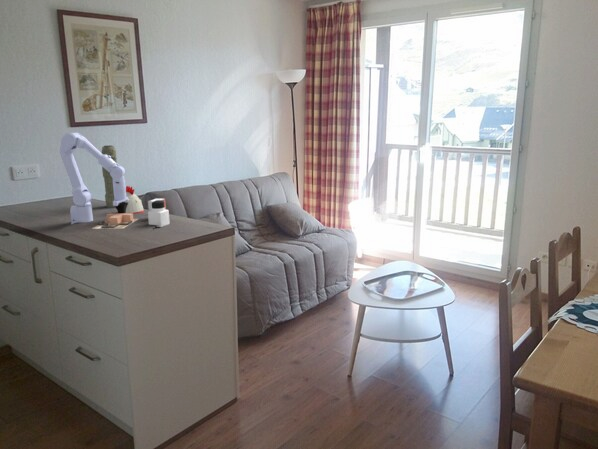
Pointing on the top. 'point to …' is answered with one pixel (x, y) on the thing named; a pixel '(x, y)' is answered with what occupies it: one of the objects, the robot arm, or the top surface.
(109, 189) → the olive green tall block
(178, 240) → the top surface
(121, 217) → the t block
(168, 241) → the top surface
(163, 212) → the medicine bottle
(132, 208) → the kitchen timer
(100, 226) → the board
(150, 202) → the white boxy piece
